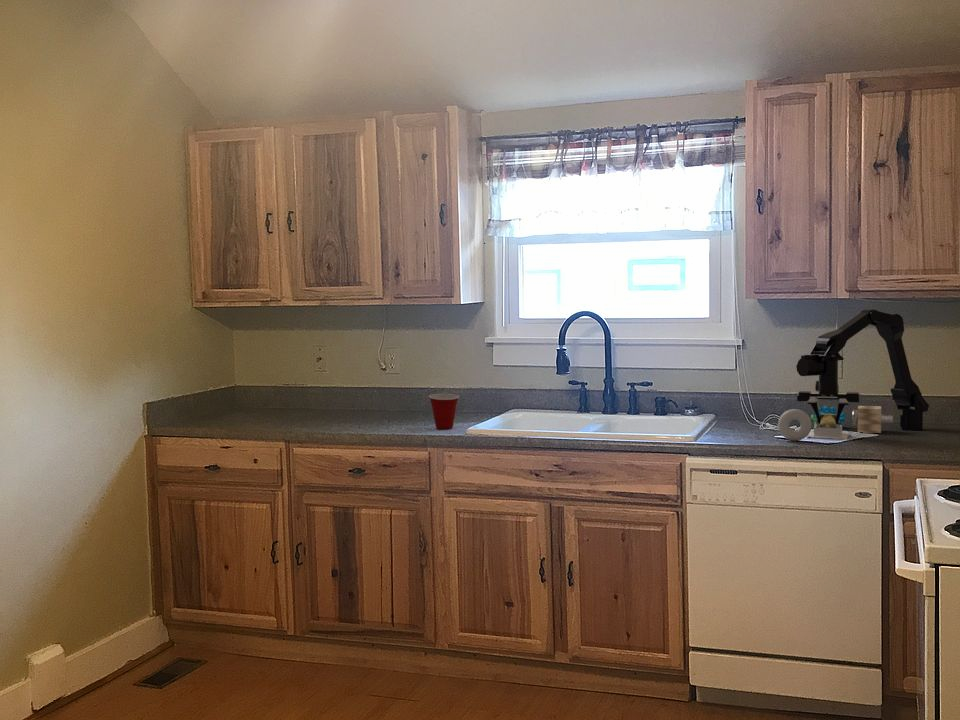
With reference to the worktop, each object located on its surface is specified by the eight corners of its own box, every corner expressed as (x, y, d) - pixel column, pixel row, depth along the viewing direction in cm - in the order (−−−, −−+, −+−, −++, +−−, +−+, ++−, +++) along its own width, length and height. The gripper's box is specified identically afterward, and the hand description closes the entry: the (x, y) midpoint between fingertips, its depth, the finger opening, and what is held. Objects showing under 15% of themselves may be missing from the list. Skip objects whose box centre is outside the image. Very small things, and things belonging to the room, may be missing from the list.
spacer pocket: (848, 434, 322) (848, 424, 321) (847, 439, 311) (847, 429, 310) (809, 432, 326) (809, 423, 326) (806, 438, 315) (806, 428, 315)
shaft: (892, 425, 326) (892, 410, 326) (892, 427, 322) (892, 411, 321) (852, 424, 331) (852, 409, 331) (852, 426, 326) (852, 410, 326)
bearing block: (881, 430, 329) (881, 406, 328) (880, 433, 322) (881, 409, 321) (858, 429, 332) (858, 405, 331) (857, 432, 324) (857, 408, 324)
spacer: (837, 426, 319) (837, 413, 319) (836, 428, 315) (836, 415, 315) (820, 425, 321) (820, 413, 321) (819, 427, 317) (819, 415, 317)
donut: (778, 441, 309) (778, 409, 309) (777, 439, 313) (777, 408, 312) (812, 442, 307) (812, 409, 306) (811, 440, 310) (811, 408, 310)
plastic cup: (436, 431, 345) (435, 397, 344) (424, 428, 355) (424, 394, 354) (464, 429, 350) (464, 395, 349) (453, 425, 360) (452, 392, 359)
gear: (849, 421, 340) (840, 403, 334) (847, 435, 336) (839, 417, 331) (816, 424, 346) (807, 406, 340) (814, 437, 343) (805, 419, 337)
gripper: (860, 373, 321) (860, 421, 322) (799, 372, 328) (799, 419, 329) (859, 376, 311) (859, 425, 312) (796, 375, 318) (796, 424, 319)
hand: (828, 423), depth 318 cm, fingers closed on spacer, 5 cm apart
